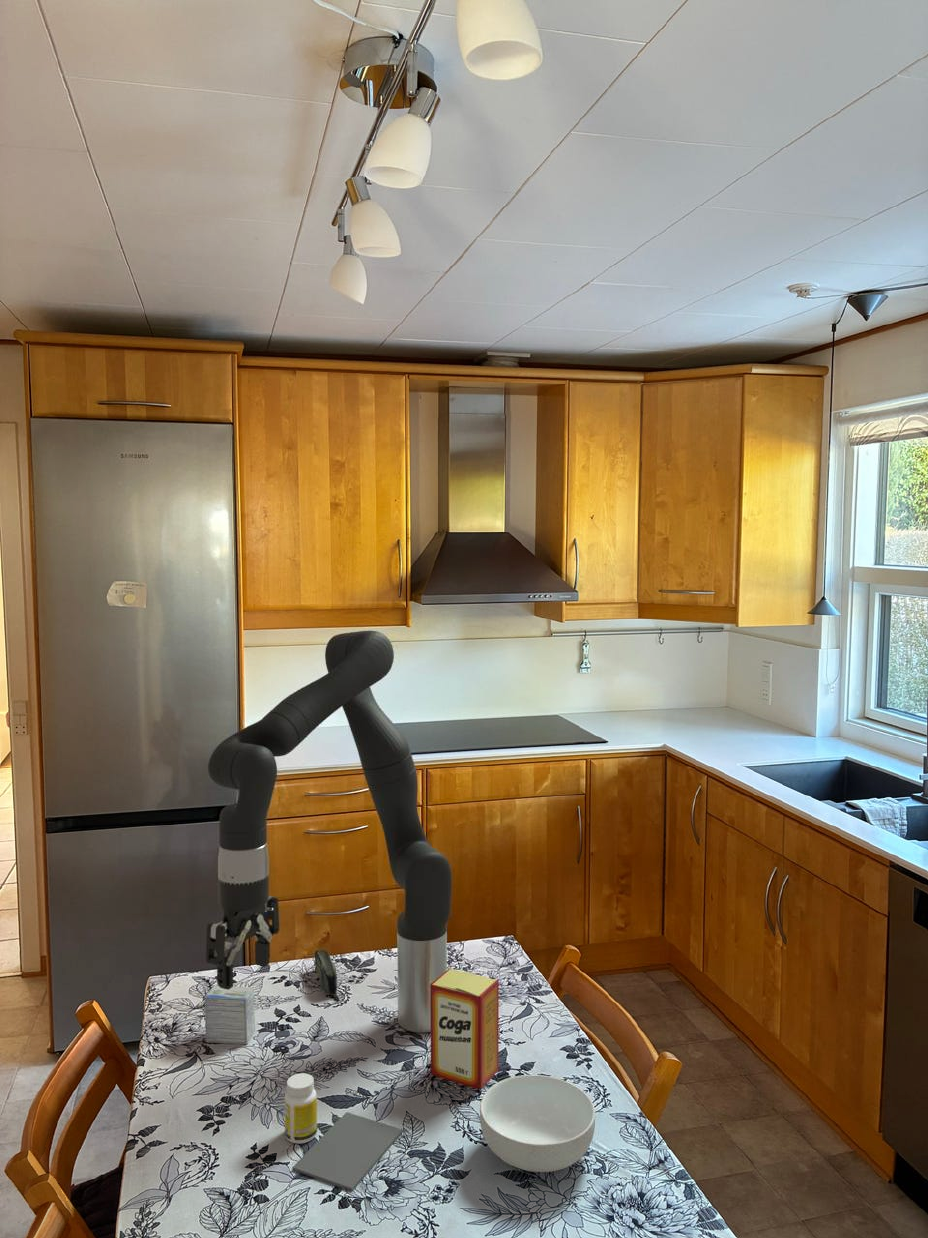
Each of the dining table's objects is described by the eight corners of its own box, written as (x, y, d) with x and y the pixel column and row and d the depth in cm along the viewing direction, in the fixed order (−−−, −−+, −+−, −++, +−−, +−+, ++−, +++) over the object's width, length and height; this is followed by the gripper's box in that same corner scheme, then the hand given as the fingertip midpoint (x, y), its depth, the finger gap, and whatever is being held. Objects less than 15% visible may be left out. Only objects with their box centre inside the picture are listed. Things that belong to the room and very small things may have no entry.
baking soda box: (430, 1074, 149) (430, 982, 148) (449, 1055, 155) (449, 966, 154) (480, 1090, 145) (480, 995, 144) (498, 1070, 150) (498, 978, 150)
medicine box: (255, 1032, 163) (255, 986, 162) (247, 1045, 158) (246, 998, 158) (214, 1030, 164) (213, 984, 163) (204, 1043, 159) (203, 996, 159)
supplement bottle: (323, 1130, 135) (322, 1076, 134) (305, 1148, 130) (304, 1093, 130) (297, 1121, 137) (296, 1068, 136) (278, 1139, 132) (277, 1085, 132)
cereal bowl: (563, 1211, 118) (564, 1160, 117) (457, 1166, 127) (457, 1118, 126) (613, 1140, 132) (613, 1094, 132) (515, 1104, 141) (515, 1061, 141)
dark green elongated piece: (312, 949, 188) (327, 978, 173) (326, 946, 189) (342, 975, 175) (313, 972, 188) (327, 1003, 174) (327, 969, 189) (342, 1000, 175)
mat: (292, 1170, 126) (292, 1167, 126) (346, 1114, 138) (346, 1112, 138) (352, 1191, 121) (352, 1188, 121) (402, 1132, 134) (402, 1129, 134)
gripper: (231, 892, 128) (232, 1002, 129) (292, 862, 140) (292, 962, 141) (191, 883, 131) (193, 991, 132) (254, 855, 144) (254, 953, 145)
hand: (244, 976), depth 137 cm, fingers open, 8 cm apart
